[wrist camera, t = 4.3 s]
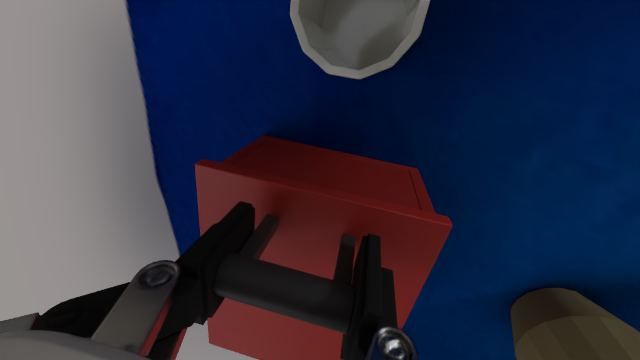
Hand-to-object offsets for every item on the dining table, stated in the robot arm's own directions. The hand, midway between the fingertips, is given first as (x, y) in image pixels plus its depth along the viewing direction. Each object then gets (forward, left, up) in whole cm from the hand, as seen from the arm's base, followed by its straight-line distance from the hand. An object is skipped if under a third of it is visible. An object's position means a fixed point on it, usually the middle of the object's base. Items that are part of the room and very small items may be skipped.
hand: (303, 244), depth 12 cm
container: (-10, 0, -10) cm, 14 cm away
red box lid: (+5, 0, -2) cm, 6 cm away
